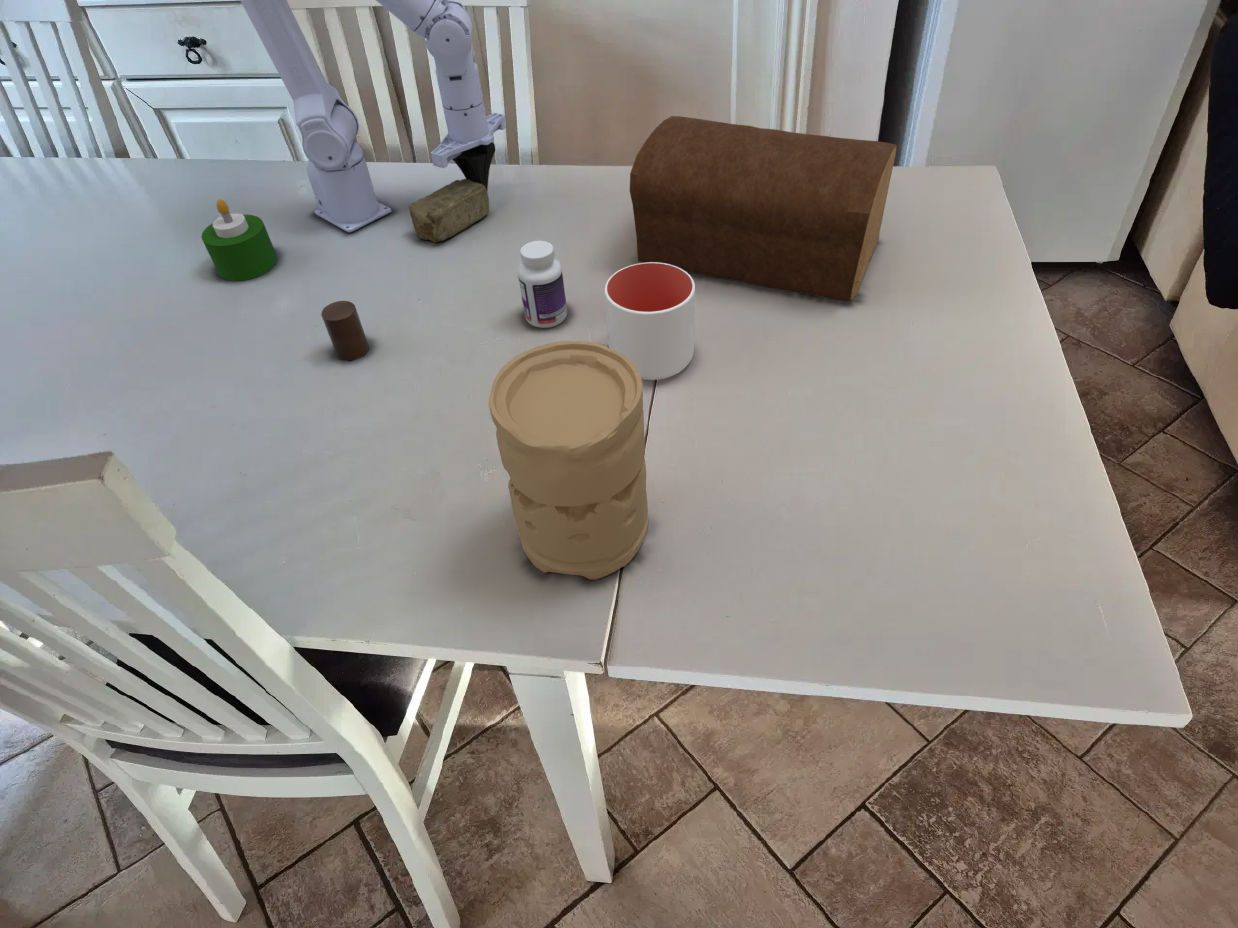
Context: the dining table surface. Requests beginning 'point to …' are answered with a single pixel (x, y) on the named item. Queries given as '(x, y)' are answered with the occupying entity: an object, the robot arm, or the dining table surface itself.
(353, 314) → the post
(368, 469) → the dining table surface
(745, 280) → the bread
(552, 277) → the pill bottle
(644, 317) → the cup
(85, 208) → the dining table surface
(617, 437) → the container
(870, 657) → the dining table surface
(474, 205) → the stone block
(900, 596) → the dining table surface
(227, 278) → the candle
